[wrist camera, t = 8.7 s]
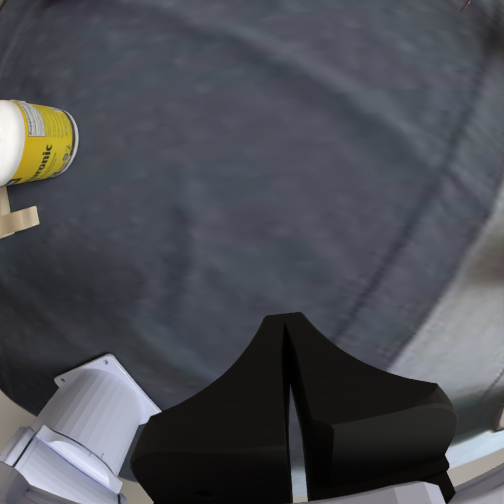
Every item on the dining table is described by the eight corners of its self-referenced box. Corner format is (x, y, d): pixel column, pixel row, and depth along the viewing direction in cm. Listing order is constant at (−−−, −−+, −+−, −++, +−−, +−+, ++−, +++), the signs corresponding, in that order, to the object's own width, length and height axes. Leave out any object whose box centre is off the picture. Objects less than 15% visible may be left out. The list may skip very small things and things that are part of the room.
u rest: (5, 235, 21) (-9, 241, 19) (-9, 119, 18) (-24, 118, 16) (40, 226, 21) (25, 232, 19) (25, 99, 18) (10, 96, 16)
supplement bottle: (44, 190, 20) (-49, 214, 11) (23, 135, 19) (-67, 138, 9) (91, 153, 19) (-7, 157, 10) (67, 95, 18) (-25, 75, 9)
